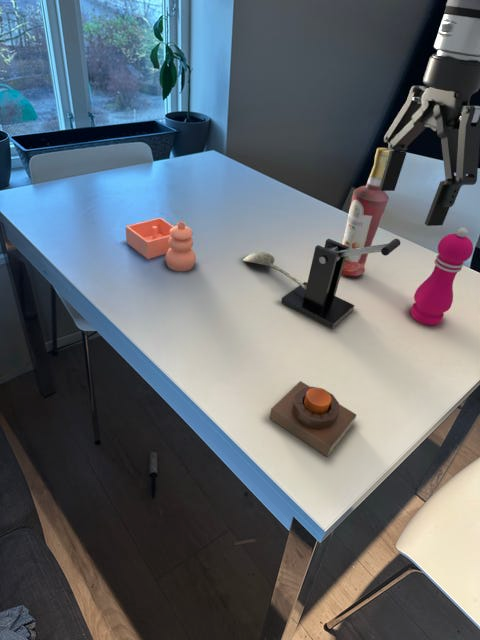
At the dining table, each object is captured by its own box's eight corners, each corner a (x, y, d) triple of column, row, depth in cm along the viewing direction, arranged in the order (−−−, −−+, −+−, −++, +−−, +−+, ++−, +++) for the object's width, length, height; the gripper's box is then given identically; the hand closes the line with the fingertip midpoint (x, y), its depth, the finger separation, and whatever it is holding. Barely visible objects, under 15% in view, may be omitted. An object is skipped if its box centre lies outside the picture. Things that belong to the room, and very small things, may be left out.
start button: (333, 404, 65) (335, 396, 64) (320, 418, 63) (323, 410, 62) (312, 391, 67) (314, 383, 66) (299, 405, 64) (301, 396, 63)
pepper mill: (410, 323, 90) (447, 233, 78) (405, 303, 96) (440, 217, 84) (446, 330, 90) (490, 240, 78) (439, 309, 95) (479, 223, 83)
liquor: (371, 276, 104) (410, 154, 87) (347, 283, 100) (384, 156, 83) (350, 261, 108) (383, 142, 92) (326, 267, 105) (357, 145, 88)
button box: (353, 424, 67) (360, 406, 65) (327, 457, 62) (333, 439, 60) (297, 390, 72) (302, 372, 69) (269, 418, 67) (273, 400, 64)
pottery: (126, 242, 105) (124, 202, 99) (160, 233, 110) (160, 195, 104) (170, 277, 95) (171, 235, 89) (205, 265, 100) (208, 224, 94)
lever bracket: (353, 310, 92) (371, 250, 84) (331, 329, 86) (349, 267, 78) (303, 286, 97) (317, 228, 89) (280, 302, 91) (292, 242, 83)
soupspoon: (260, 256, 107) (237, 264, 104) (260, 243, 105) (237, 251, 102) (324, 294, 92) (300, 304, 89) (326, 279, 90) (301, 289, 87)
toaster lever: (401, 248, 78) (399, 235, 77) (390, 257, 74) (387, 244, 74) (331, 257, 87) (328, 245, 87) (318, 266, 84) (315, 254, 83)
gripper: (387, 41, 68) (352, 178, 81) (504, 71, 49) (435, 243, 62) (428, 45, 70) (388, 178, 83) (556, 75, 51) (478, 241, 64)
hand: (408, 206), depth 73 cm, fingers open, 13 cm apart
